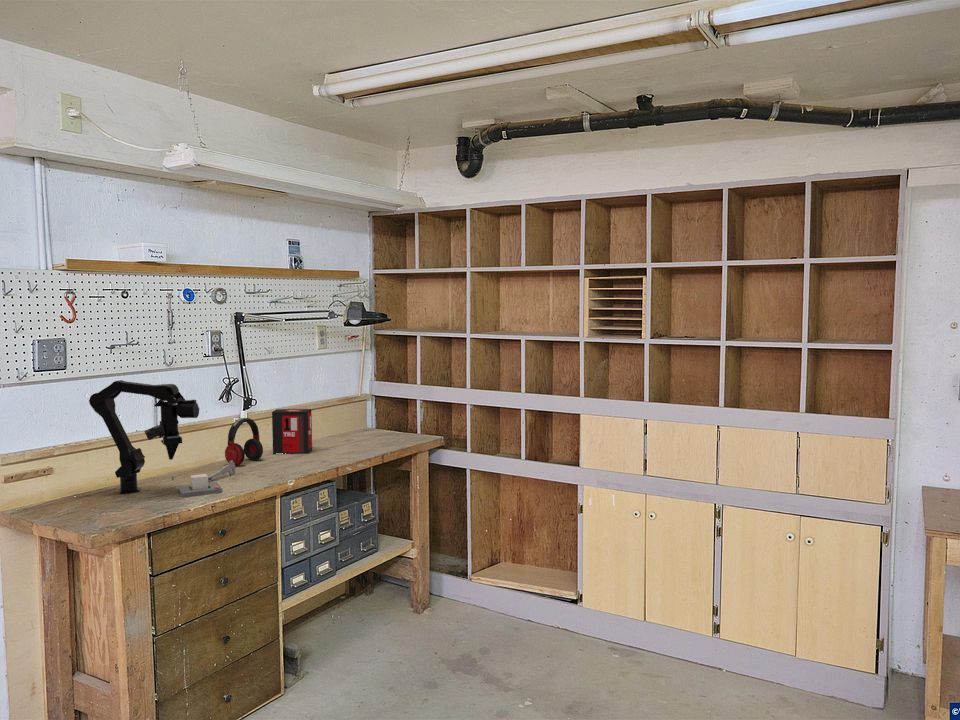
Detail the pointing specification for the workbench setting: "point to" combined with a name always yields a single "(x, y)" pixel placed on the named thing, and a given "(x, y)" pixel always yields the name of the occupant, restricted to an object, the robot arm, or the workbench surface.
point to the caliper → (225, 470)
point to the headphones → (251, 446)
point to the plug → (199, 481)
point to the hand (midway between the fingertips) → (170, 459)
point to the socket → (187, 492)
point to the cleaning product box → (292, 431)
